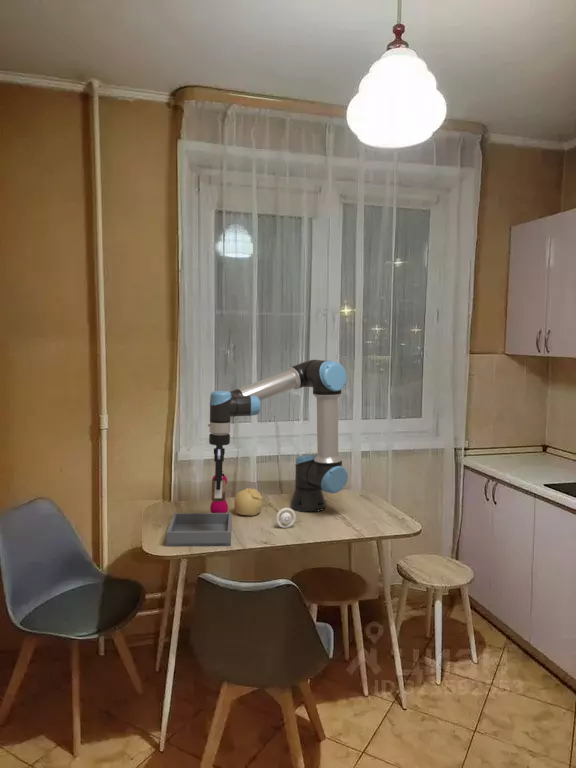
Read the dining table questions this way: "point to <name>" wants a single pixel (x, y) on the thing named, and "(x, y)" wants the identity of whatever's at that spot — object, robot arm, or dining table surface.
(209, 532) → the tray
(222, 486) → the walnut cylinder
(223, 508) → the pepper mill
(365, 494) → the dining table surface
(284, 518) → the ring around a ball
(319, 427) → the robot arm
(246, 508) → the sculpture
